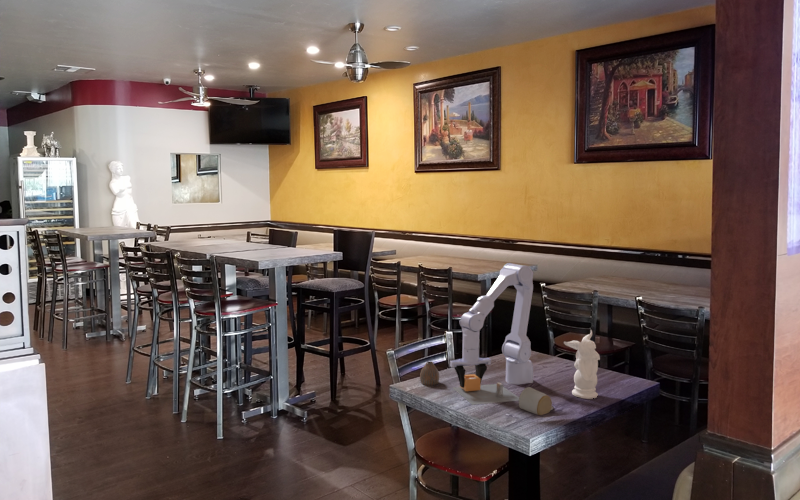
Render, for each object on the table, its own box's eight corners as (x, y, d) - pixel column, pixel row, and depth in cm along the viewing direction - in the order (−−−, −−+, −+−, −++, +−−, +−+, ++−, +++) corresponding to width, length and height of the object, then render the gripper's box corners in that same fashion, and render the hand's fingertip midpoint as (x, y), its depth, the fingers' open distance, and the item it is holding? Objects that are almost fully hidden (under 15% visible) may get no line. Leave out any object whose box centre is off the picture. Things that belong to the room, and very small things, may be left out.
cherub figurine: (592, 402, 207) (595, 338, 204) (556, 395, 214) (558, 333, 211) (602, 392, 217) (604, 330, 215) (567, 385, 224) (569, 326, 221)
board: (499, 386, 222) (499, 383, 222) (522, 403, 205) (522, 400, 204) (452, 390, 217) (452, 387, 217) (472, 408, 199) (472, 404, 199)
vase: (437, 390, 218) (438, 365, 217) (418, 388, 219) (418, 364, 218) (440, 384, 224) (440, 360, 224) (421, 382, 226) (421, 359, 225)
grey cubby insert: (499, 395, 209) (500, 382, 208) (502, 397, 207) (503, 384, 206) (496, 395, 208) (496, 382, 208) (499, 397, 206) (499, 384, 206)
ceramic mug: (538, 420, 190) (539, 395, 189) (517, 412, 196) (518, 389, 195) (559, 413, 196) (560, 389, 196) (539, 406, 203) (540, 383, 202)
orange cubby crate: (474, 385, 217) (474, 373, 217) (480, 390, 212) (480, 378, 212) (459, 386, 216) (460, 374, 216) (465, 391, 211) (465, 379, 210)
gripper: (485, 343, 219) (484, 380, 220) (446, 345, 214) (446, 384, 216) (493, 348, 212) (493, 386, 213) (454, 351, 208) (453, 390, 209)
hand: (470, 385), depth 214 cm, fingers closed on orange cubby crate, 5 cm apart
